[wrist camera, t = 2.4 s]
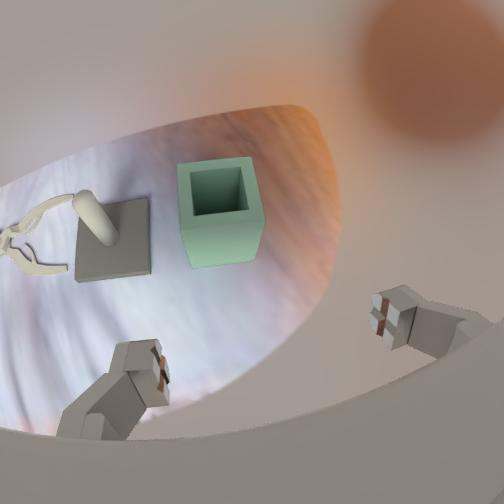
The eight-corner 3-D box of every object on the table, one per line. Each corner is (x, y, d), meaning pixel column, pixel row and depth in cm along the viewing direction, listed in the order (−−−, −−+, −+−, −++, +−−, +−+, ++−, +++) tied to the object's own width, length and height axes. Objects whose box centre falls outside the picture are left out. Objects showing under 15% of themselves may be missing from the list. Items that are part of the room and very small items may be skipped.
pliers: (62, 269, 24) (-24, 283, 22) (69, 274, 25) (-17, 287, 23) (70, 188, 27) (-12, 214, 25) (75, 196, 29) (-7, 219, 27)
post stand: (78, 282, 25) (37, 252, 17) (83, 214, 28) (52, 171, 20) (150, 273, 26) (125, 238, 19) (148, 202, 29) (130, 153, 22)
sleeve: (191, 268, 27) (180, 230, 19) (186, 213, 29) (176, 164, 21) (254, 260, 28) (265, 220, 20) (244, 206, 30) (251, 156, 22)
